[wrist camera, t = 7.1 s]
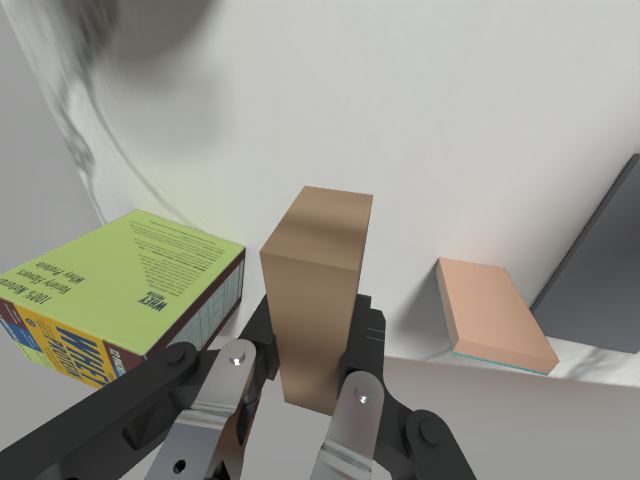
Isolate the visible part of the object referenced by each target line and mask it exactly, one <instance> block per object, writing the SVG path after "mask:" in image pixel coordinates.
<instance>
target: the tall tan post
mask: <svg viewBox="0 0 640 480" xmlns="http://www.w3.org/2000/svg"><path fill="white" fill-rule="evenodd" d="M372 200H373V195H368V194H361V193H353V192H346V191H339V190H331V189H324V188H317V187H309V186H304V188H303V189H302V191H301V192H300V194H299V195H298V196H297V198H296V199H295V201H294V202H293V204H292V205H291V207H290V208H289V210H288V211H287V212H286V214H285V215H284V217H283V218H282V220H281V221H280V223H279V224H278V226H277V227H276V228H275V230H274V231H273V233H272V234H271V236H270V237H269V239H268V240H267V242H266V243H265V245H264V246H263V247H262V249H261V250H260V258H261V264H262V270H263V276H264V282H265V288H266V293H267V299H268V305H269V311H270V317H271V323H272V329H273V334H275V335H276V342H277V348H278V354H279V360H280V366H279V369H280V376H281V381H282V387H283V393H284V399H285V402H287V403H290V404H294V405H297V406H300V407H303V408H307V409H310V410H313V411H316V412H320V413H323V414H326V415H329V416H333V414H334V411H335V408H336V405H337V402H338V400H337V399H336V397H337V390H338V384H339V377H340V370H341V364H342V359H343V354H344V352H345V351H346V346H347V341H348V336H349V331H350V326H351V320H352V315H353V310H354V305H355V300H356V295H357V292H358V286H359V280H360V274H361V267H362V261H363V255H364V249H365V243H366V237H367V231H368V224H369V218H370V212H371V206H372Z"/></svg>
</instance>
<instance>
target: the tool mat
mask: <svg viewBox="0 0 640 480" xmlns="http://www.w3.org/2000/svg"><path fill="white" fill-rule="evenodd" d="M530 312H531V314H532V315H533V317H534V319H535V320H536V322H537V324H538V326H539V327H540V329H541V331H542V332H543V334H544V335H546V336H551V337H555V338H560V339H565V340H570V341H574V342H579V343H584V344H589V345H594V346H598V347H603V348H608V349H613V350H618V351H622V352H627V353H632V354H636V353H637V352H639V351H640V154H636V153H635V154H634V156H633V157H632V159H631V160H630V162H629V163H628V165H627V166H626V168H625V169H624V171H623V172H622V174H621V175H620V177H619V178H618V180H617V181H616V183H615V184H614V186H613V187H612V189H611V190H610V192H609V193H608V195H607V196H606V198H605V199H604V201H603V202H602V204H601V205H600V207H599V208H598V210H597V211H596V213H595V214H594V215H593V217H592V218H591V220H590V221H589V223H588V224H587V226H586V227H585V229H584V230H583V232H582V233H581V235H580V236H579V238H578V239H577V241H576V242H575V244H574V245H573V247H572V248H571V250H570V251H569V253H568V254H567V256H566V257H565V259H564V260H563V262H562V263H561V265H560V266H559V268H558V269H557V271H556V272H555V274H554V275H553V277H552V278H551V280H550V281H549V283H548V284H547V286H546V287H545V289H544V290H543V291H542V293H541V294H540V296H539V297H538V299H537V300H536V302H535V303H534V305H533V306H532V308H531V309H530Z"/></svg>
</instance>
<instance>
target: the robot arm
mask: <svg viewBox="0 0 640 480" xmlns="http://www.w3.org/2000/svg"><path fill="white" fill-rule="evenodd" d="M370 305H371V296H367V295H362V294H357V295H356V300H355V305H354V310H353V315H352V320H351V326H350V331H349V336H348V341H347V346H346V351H345V352H344V354H343V359H342V364H341V370H340V377H339V384H338V390H337V397H336V399H337V400H338V402H337V405H336V408H335V411H334V414H333V417H332V420H331V423H330V426H329V429H328V432H327V435H326V438H325V441H324V443H323V445H322V446H321V449H320V451H319V453H318V456H317V459H316V462H315V465H314V468H313V471H312V474H311V476H310V479H309V480H370V479H371V466H372V460H375V461H376V462H377V463H378V464H380V465H381V466H382V467H384V468H385V469H386V470H387V471H389V472H390V474H391V477H392V480H477V479H476V477H475V475H474V473H473V471H472V470H471V468H470V466H469V464H468V462H467V460H466V459H465V457H464V455H463V453H462V451H461V449H460V447H459V445H458V444H457V442H456V440H455V438H454V436H453V434H452V433H451V431H450V429H449V427H448V426H447V424H446V423H445V422H444V421H443V420H442V419H441V418H440V417H439V416H438V415H436V414H434V413H433V412H430V411H427V410H416V411H414V412H413V411H412V410H410V409H409V408H407V407H406V406H404V405H403V404H401V403H399V402H398V401H397V400H395V399H394V398H393V397H392V396H391V395H390V393H389V392H388V390H387V389H386V387H385V384H384V381H383V362H384V344H385V342H384V341H385V325H386V320H385V318H384V316H383V313H382V311H380V310H376V309H371V308H370ZM279 366H280V360H279V354H278V348H277V342H276V335H275V334H273V329H272V323H271V317H270V311H269V305H268V299H267V293H266V294H265V296H264V297H263V299H262V301H261V303H260V304H259V305H258V307H257V309H256V311H255V312H254V313H253V315H252V317H251V318H250V320H249V321H248V323H247V325H246V326H245V328H244V329H243V331H242V333H241V334H240V336H239V337H238V339H237V340H233V341H231V342H229V343H227V344H226V345H225V346H224V347H223V348H222V349H219V350H205V351H197V350H196V347H195V345H193V344H192V343H190V342H185V341H183V342H177V343H174V344H171V345H170V346H168V347H166V348H165V349H163V350H161V351H160V352H158V353H157V354H155V355H153V356H152V357H150V358H149V359H147V360H145V361H144V362H142V363H141V364H139V365H138V366H136V367H134V368H133V369H131V370H130V371H128V372H126V373H125V374H123V375H122V376H120V377H118V378H117V379H115V380H114V381H112V382H110V383H109V384H107V385H106V386H104V387H102V388H101V389H99V390H98V391H96V392H95V393H93V394H91V395H90V396H88V397H87V398H85V399H83V400H82V401H80V402H79V403H77V404H75V405H74V406H72V407H71V408H69V409H68V410H66V411H64V412H63V413H61V414H60V415H58V416H56V417H55V418H53V419H52V420H50V421H48V422H47V423H45V424H44V425H42V426H40V427H39V428H37V429H36V430H34V431H32V432H31V433H29V434H28V435H26V436H25V437H23V438H21V439H20V440H18V441H17V442H15V443H13V444H12V445H10V446H9V447H7V448H5V449H4V450H2V451H1V452H0V480H118V479H120V478H121V477H122V476H123V475H124V474H126V473H127V472H128V471H129V470H130V469H132V468H133V467H134V466H135V465H136V464H137V463H139V462H140V461H141V460H142V459H143V458H144V457H146V456H147V455H148V454H149V453H150V452H151V451H152V450H154V449H155V448H156V447H157V446H159V445H160V444H161V443H162V442H163V441H164V440H165V441H164V443H163V445H162V447H161V449H160V450H159V452H158V454H157V456H156V458H155V460H154V462H153V464H152V465H151V467H150V469H149V471H148V473H147V475H146V477H145V479H144V480H240V477H241V472H242V467H243V462H244V453H245V447H246V444H247V441H248V437H249V434H250V431H251V427H252V424H253V421H254V417H255V414H256V410H257V407H258V404H259V401H260V397H261V392H262V391H261V389H262V387H263V385H264V383H265V380H266V379H270V380H273V381H274V378H275V376H276V374H277V371H278V369H279ZM182 470H183V472H181V471H182Z"/></svg>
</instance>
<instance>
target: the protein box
mask: <svg viewBox="0 0 640 480" xmlns="http://www.w3.org/2000/svg"><path fill="white" fill-rule="evenodd" d="M244 259H245V247H244V246H241V245H238V244H235V243H232V242H229V241H227V240H224V239H221V238H218V237H215V236H212V235H210V234H207V233H204V232H201V231H198V230H195V229H192V228H190V227H187V226H184V225H181V224H178V223H176V222H173V221H170V220H167V219H164V218H161V217H158V216H156V215H153V214H150V213H147V212H144V211H142V210H135V211H133V212H131V213H129V214H127V215H125V216H123V217H121V218H119V219H116V220H114V221H112V222H110V223H108V224H106V225H104V226H102V227H100V228H97V229H96V230H93V231H91V232H89V233H87V234H85V235H83V236H81V237H79V238H77V239H75V240H73V241H71V242H69V243H66V244H64V245H62V246H60V247H58V248H56V249H54V250H52V251H50V252H48V253H46V254H44V255H42V256H40V257H37V258H35V259H33V260H31V261H29V262H27V263H25V264H23V265H21V266H19V267H17V268H15V269H13V270H10V271H8V272H7V273H4V274H2V275H0V322H1V324H2V325H3V326H4V328H5V329H6V330H7V332H8V333H9V334H10V336H11V337H12V339H13V340H14V342H15V343H16V344H17V346H18V347H19V348H20V350H21V351H22V352H23V354H24V355H25V357H26V358H27V359H29V360H31V361H33V362H35V363H38V364H40V365H43V366H46V367H48V368H51V369H54V370H56V371H58V372H61V373H63V374H65V375H67V376H70V377H72V378H74V379H76V380H79V381H81V382H83V383H86V384H88V385H90V386H93V387H95V388H97V389H101V388H102V387H104V386H106V385H107V384H109V383H110V382H112V381H114V380H115V379H117V378H118V377H120V376H122V375H123V374H125V373H126V372H128V371H130V370H131V369H133V368H134V367H136V366H138V365H139V364H141V363H142V362H144V361H145V360H147V359H149V358H150V357H152V356H153V355H155V354H157V353H158V352H160V351H161V350H163V349H165V348H166V347H168V346H170V345H171V344H174V343H177V342H183V341H185V342H190V343H192V344H193V345H195V347H196V350H197V351H205V350H207V348H208V347H209V346H210V344H211V343H212V341H213V340H214V339H215V337H216V336H217V334H218V333H219V332H220V330H221V329H222V327H223V326H224V325H225V323H226V322H227V320H228V319H229V318H230V316H231V315H232V314H233V312H234V311H235V309H236V308H237V307H238V305H239V304H240V302H241V296H242V284H243V271H244Z"/></svg>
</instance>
